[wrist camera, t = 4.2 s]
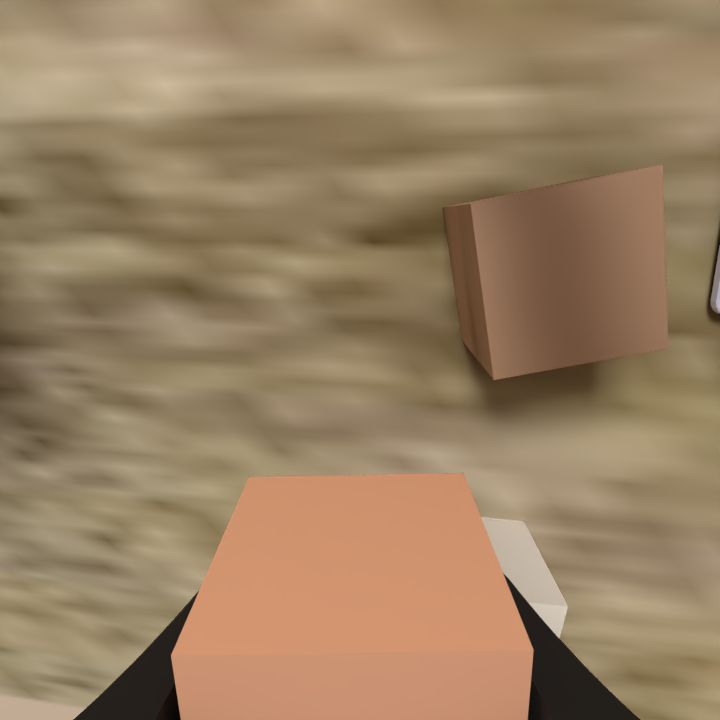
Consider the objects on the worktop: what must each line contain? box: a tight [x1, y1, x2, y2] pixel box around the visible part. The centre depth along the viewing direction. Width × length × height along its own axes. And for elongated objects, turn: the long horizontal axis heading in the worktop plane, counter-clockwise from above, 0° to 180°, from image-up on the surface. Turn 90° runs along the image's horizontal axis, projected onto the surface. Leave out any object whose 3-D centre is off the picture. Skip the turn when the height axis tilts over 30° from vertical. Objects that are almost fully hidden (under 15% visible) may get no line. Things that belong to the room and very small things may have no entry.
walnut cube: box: [443, 165, 669, 380], centre depth 16 cm, size 5×5×5 cm
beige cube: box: [481, 517, 568, 638], centre depth 20 cm, size 5×5×5 cm
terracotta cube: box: [171, 473, 534, 720], centre depth 10 cm, size 5×5×5 cm
